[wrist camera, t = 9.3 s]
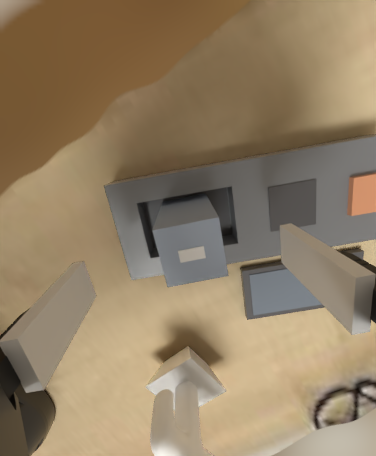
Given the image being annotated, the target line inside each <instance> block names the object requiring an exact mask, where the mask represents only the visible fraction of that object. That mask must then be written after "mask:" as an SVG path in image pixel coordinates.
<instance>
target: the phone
mask: <svg viewBox="0 0 376 456" xmlns="http://www.w3.org/2000/svg"><path fill="white" fill-rule="evenodd" d="M344 252H348V253H351V254H354V255H355V256H357V257H359V258H361V259H362V260H363V254H364V251H363V250H361V249H359V248H357V249H351V250H345V251H344ZM240 270H241V279H242V287H243V296H244V305H245V314H246V318H247V320H249V319H255V318H261V317H267V316H274V315H280V314H286V313H293V312H299V311H305V310H311V309H318V308H324V306H323V305H322V304H321V303H320V302H319V301H318V300H317V299H316V297H315V296H314V295H313V294H312V293H311V292H310V291H309V290H308V289H307V288H306V287H305V286H304V285H303V284H302V283H301V282H300V281H299V280H298V279H297V278H296V277H295V276H294V275H293V274H292V273H291V272H290V271H289V270H288V269H287V268H286V267H285V266H284V265H283V264H282V261H279V262H273V263H268V264H262V265H256V266H250V267H244V268H240Z"/></svg>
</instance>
